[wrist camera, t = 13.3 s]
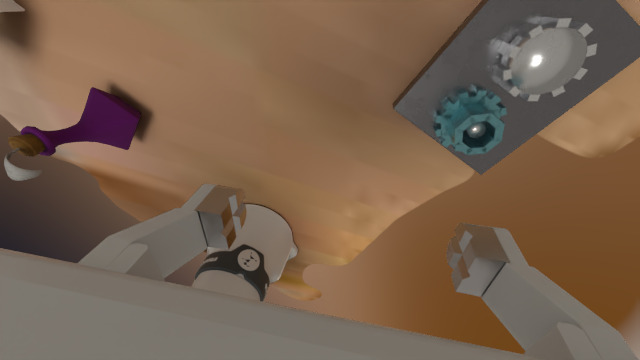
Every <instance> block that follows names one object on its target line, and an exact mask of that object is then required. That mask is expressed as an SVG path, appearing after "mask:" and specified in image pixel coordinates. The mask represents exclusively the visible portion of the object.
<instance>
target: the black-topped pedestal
mask: <svg viewBox="0 0 640 360" xmlns="http://www.w3.org/2000/svg"><path fill="white" fill-rule="evenodd" d="M17 11H25V9H24V8H22V7H21V6H20V5H18V4H17V3H16V2H15V1H13V0H0V12H17Z"/></svg>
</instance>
